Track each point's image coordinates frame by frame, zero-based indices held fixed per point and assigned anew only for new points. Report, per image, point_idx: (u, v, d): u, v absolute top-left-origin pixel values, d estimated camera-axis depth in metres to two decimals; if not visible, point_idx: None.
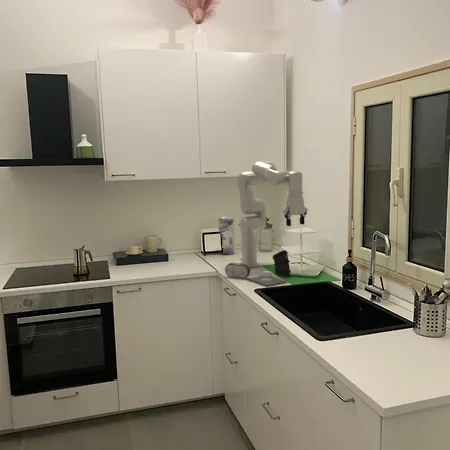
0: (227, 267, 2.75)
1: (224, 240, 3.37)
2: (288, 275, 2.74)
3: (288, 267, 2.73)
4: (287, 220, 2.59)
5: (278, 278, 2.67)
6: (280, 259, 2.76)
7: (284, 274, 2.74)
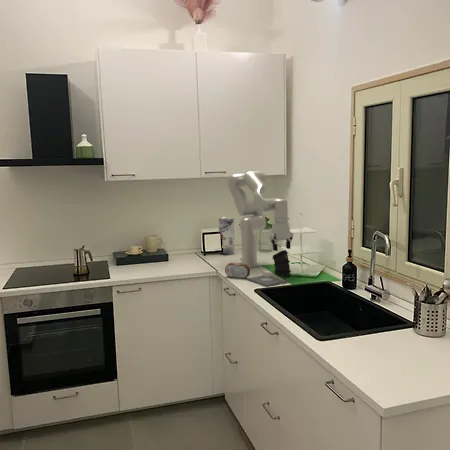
0: (227, 267, 2.75)
1: (224, 240, 3.37)
2: (288, 275, 2.74)
3: (288, 267, 2.73)
4: (274, 245, 2.73)
5: (278, 278, 2.67)
6: (280, 259, 2.76)
7: (284, 274, 2.74)
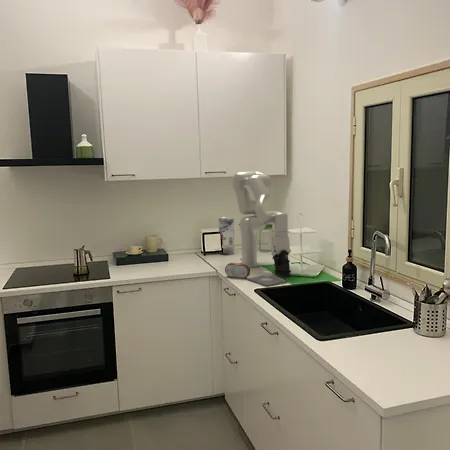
0: (227, 267, 2.75)
1: (224, 240, 3.37)
2: (288, 275, 2.74)
3: (288, 267, 2.73)
4: (277, 260, 2.76)
5: (278, 278, 2.67)
6: (280, 259, 2.76)
7: (284, 274, 2.74)
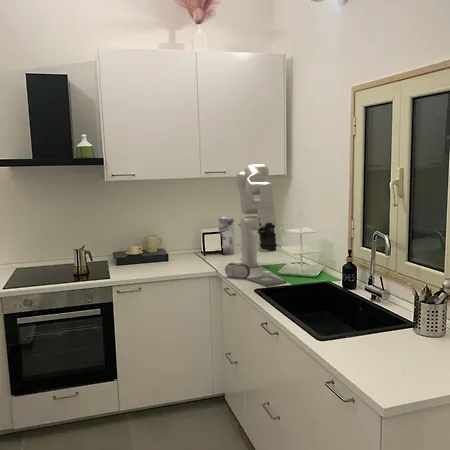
0: (227, 267, 2.75)
1: (224, 240, 3.37)
2: (274, 249, 2.57)
3: (274, 241, 2.57)
4: (262, 233, 2.60)
5: (278, 278, 2.67)
6: (266, 232, 2.59)
7: (270, 248, 2.57)
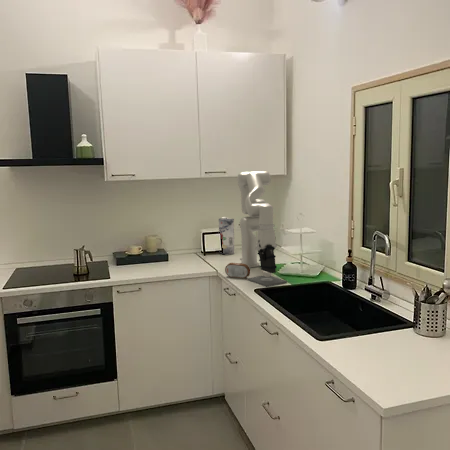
0: (227, 267, 2.75)
1: (224, 240, 3.37)
2: (274, 271, 2.58)
3: (274, 263, 2.58)
4: (262, 255, 2.61)
5: (278, 278, 2.67)
6: (266, 254, 2.60)
7: (270, 270, 2.59)
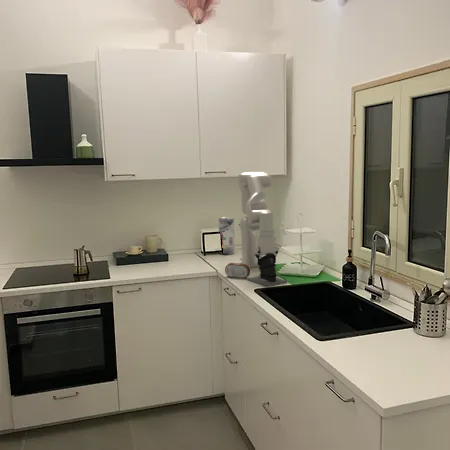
0: (227, 267, 2.75)
1: (224, 240, 3.37)
2: (274, 280, 2.60)
3: (274, 271, 2.59)
4: (258, 260, 2.60)
5: (278, 278, 2.67)
6: (266, 262, 2.61)
7: (270, 279, 2.60)
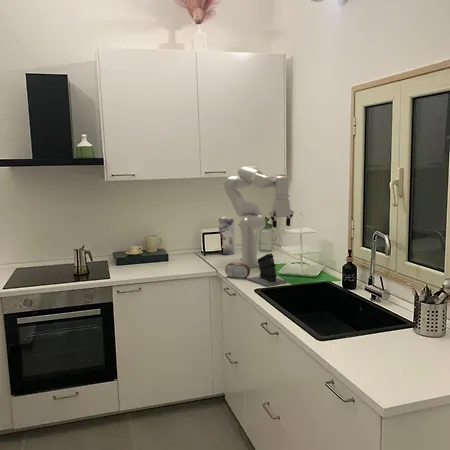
0: (227, 267, 2.75)
1: (224, 240, 3.37)
2: (274, 280, 2.60)
3: (274, 271, 2.59)
4: (273, 222, 2.74)
5: (278, 278, 2.67)
6: (266, 262, 2.61)
7: (270, 279, 2.60)
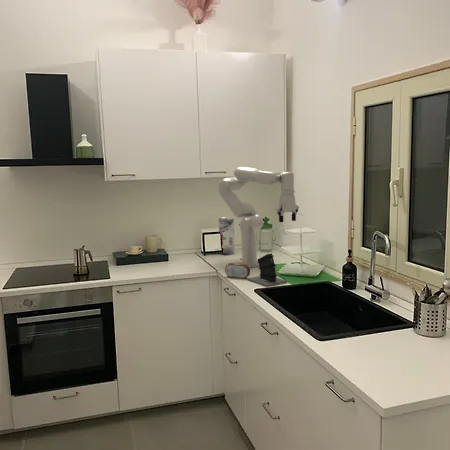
0: (227, 267, 2.75)
1: (224, 240, 3.37)
2: (274, 280, 2.60)
3: (274, 271, 2.59)
4: (280, 217, 2.80)
5: (278, 278, 2.67)
6: (266, 262, 2.61)
7: (270, 279, 2.60)
